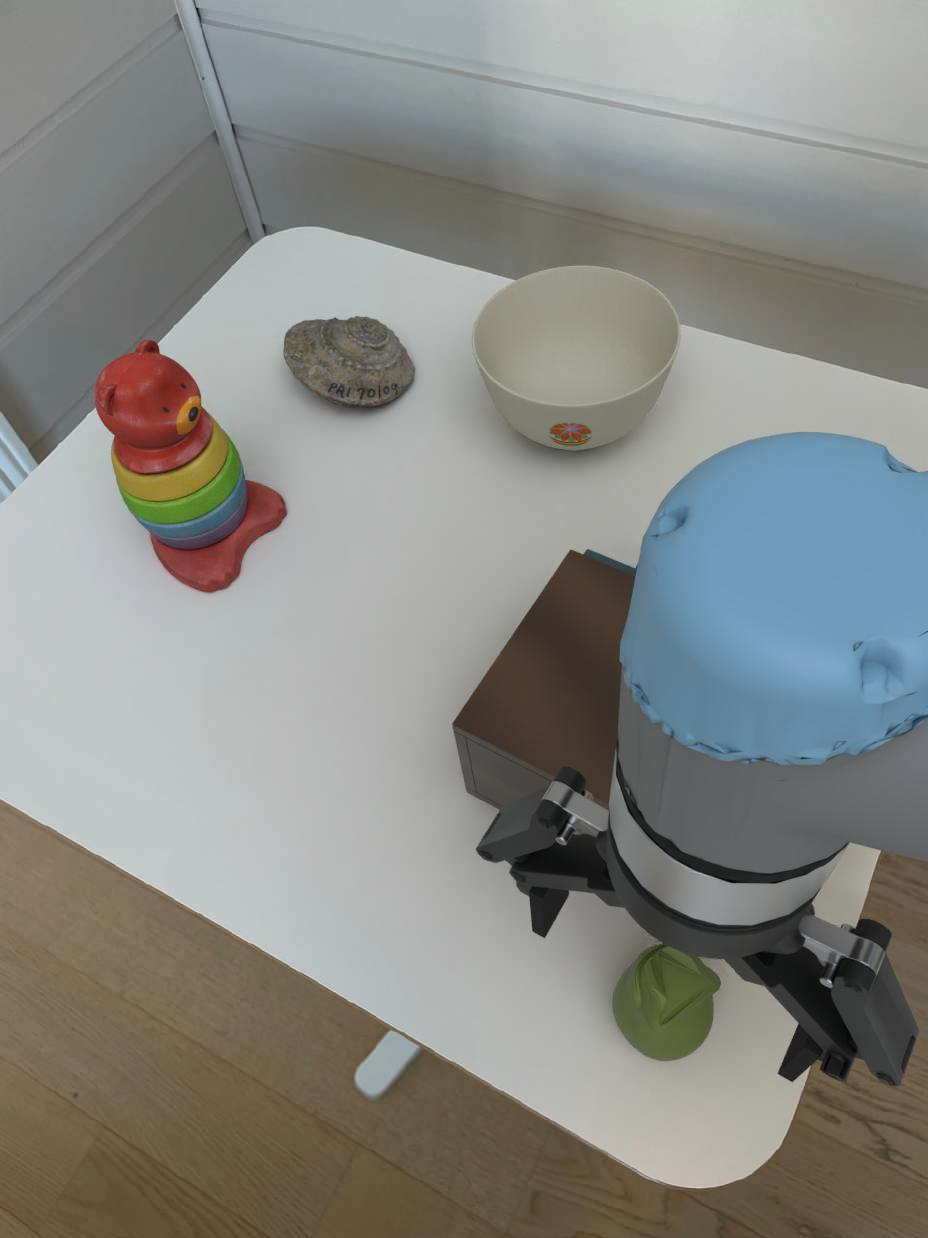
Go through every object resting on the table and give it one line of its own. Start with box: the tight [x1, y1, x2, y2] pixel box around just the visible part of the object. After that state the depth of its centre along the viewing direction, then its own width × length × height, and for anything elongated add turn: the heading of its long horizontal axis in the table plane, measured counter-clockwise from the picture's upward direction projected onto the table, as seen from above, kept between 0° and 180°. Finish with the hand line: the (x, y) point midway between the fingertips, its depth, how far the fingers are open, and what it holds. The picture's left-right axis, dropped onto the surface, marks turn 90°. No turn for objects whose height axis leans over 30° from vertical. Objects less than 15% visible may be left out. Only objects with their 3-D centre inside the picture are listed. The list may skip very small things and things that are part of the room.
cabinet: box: [451, 549, 636, 811], centre depth 65 cm, size 15×13×10 cm
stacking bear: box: [93, 339, 288, 593], centre depth 75 cm, size 11×10×18 cm
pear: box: [612, 942, 722, 1062], centre depth 54 cm, size 6×5×10 cm
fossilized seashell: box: [282, 315, 416, 408], centre depth 90 cm, size 11×11×7 cm
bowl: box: [471, 265, 682, 452], centre depth 81 cm, size 16×16×10 cm
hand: (667, 980), depth 52 cm, fingers open, 13 cm apart
